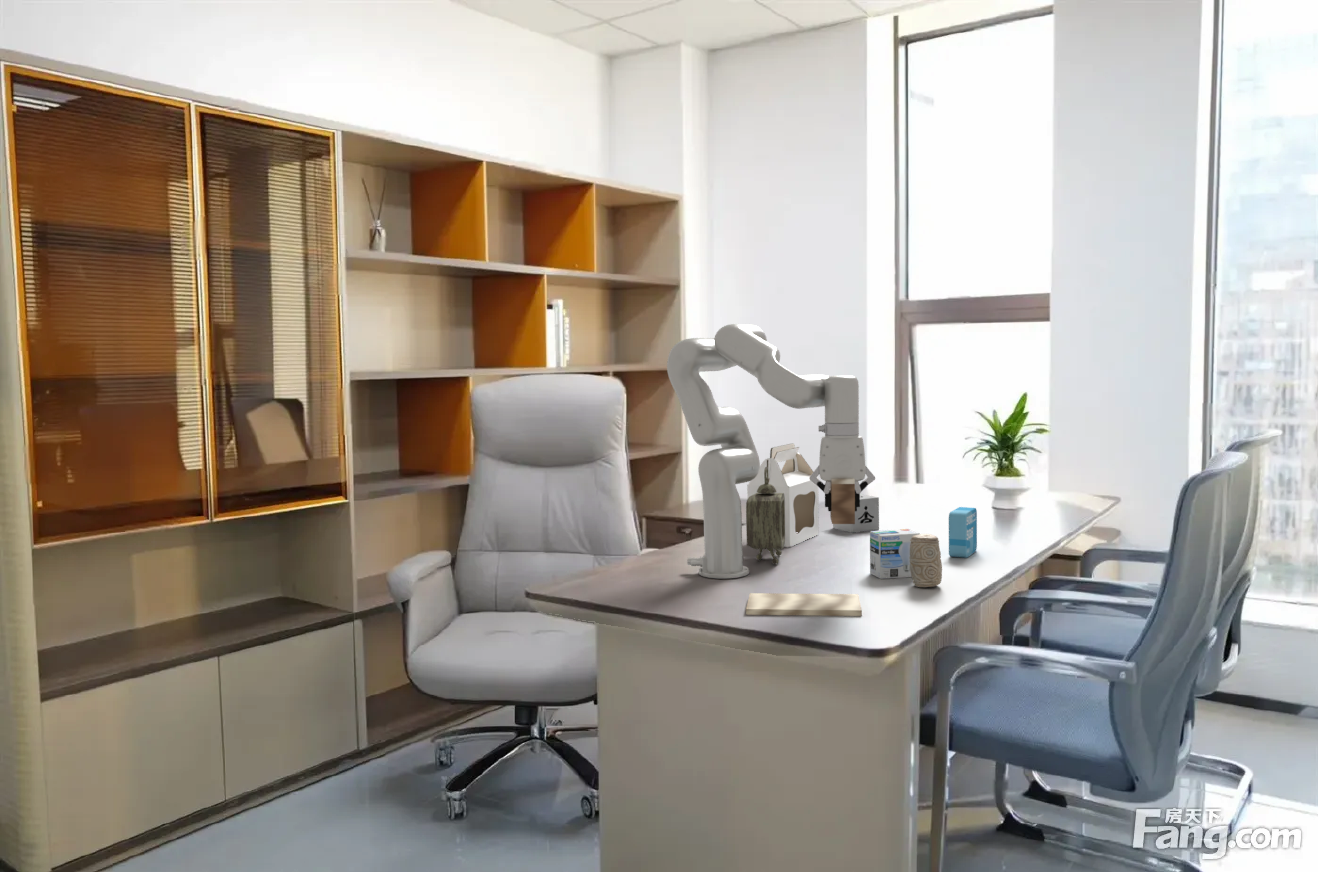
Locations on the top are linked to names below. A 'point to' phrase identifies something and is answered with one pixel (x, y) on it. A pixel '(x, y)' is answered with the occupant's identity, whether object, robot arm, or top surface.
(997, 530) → the top surface
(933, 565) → the carving
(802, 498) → the gable box
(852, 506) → the walnut block
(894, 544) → the light bulb box
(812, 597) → the birch board
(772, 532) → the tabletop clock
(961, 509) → the data package
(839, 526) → the icon cube
